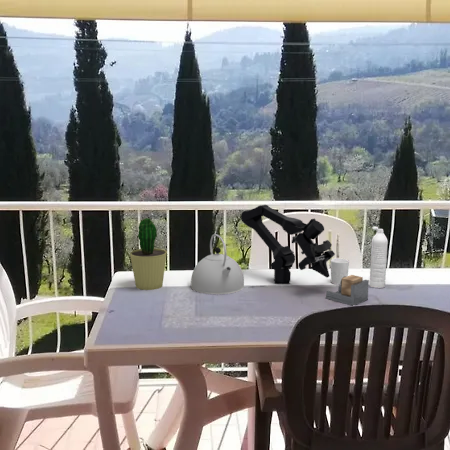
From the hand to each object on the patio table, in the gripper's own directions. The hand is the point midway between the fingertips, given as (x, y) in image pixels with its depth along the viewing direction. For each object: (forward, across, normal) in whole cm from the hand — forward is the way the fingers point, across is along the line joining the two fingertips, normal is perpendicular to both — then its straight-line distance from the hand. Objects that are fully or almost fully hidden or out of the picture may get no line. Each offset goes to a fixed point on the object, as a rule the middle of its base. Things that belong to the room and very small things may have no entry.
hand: (328, 276), depth 223 cm
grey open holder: (+11, 0, -1) cm, 12 cm away
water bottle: (+11, +25, 0) cm, 27 cm away
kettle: (-21, -24, +33) cm, 46 cm away
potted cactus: (-36, -44, +48) cm, 75 cm away
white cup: (+2, +17, +9) cm, 19 cm away
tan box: (+12, 0, -3) cm, 12 cm away
